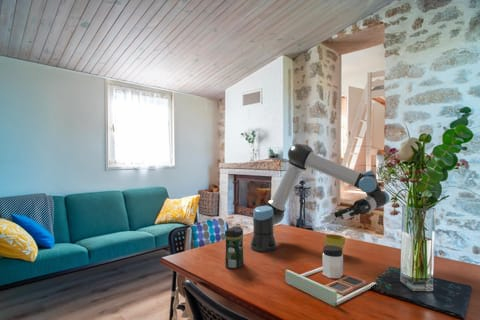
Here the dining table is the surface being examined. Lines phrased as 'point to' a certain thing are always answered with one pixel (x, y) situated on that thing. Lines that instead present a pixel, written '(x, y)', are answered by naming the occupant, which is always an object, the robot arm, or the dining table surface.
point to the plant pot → (335, 240)
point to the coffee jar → (234, 247)
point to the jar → (332, 261)
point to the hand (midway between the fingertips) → (334, 218)
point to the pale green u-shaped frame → (327, 286)
